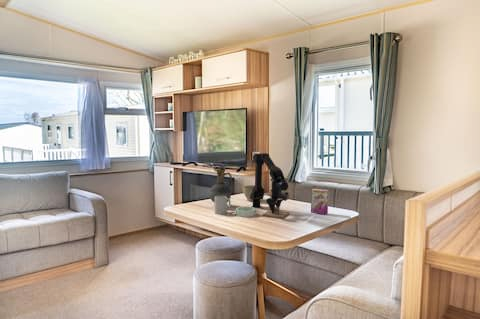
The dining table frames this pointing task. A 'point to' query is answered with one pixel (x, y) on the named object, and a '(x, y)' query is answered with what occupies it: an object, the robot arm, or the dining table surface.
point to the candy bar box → (319, 201)
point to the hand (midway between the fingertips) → (275, 211)
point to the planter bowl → (248, 191)
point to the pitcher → (220, 185)
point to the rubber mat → (277, 218)
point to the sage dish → (245, 211)
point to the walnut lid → (275, 213)
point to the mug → (221, 204)
